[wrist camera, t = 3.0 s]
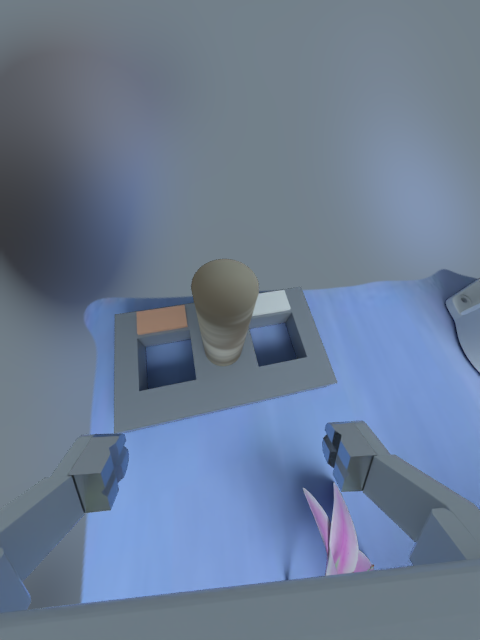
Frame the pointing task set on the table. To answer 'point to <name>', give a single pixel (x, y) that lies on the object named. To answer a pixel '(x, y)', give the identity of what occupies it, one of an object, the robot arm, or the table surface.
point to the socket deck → (212, 380)
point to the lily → (338, 537)
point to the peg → (224, 307)
